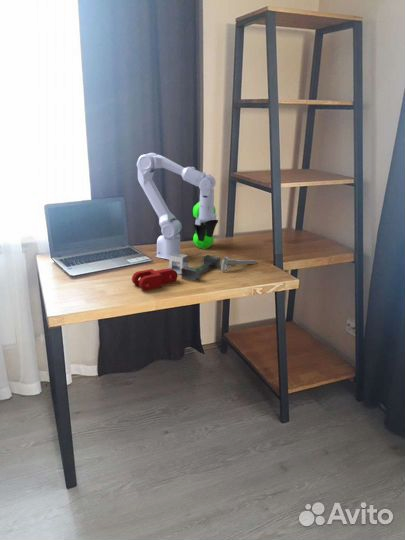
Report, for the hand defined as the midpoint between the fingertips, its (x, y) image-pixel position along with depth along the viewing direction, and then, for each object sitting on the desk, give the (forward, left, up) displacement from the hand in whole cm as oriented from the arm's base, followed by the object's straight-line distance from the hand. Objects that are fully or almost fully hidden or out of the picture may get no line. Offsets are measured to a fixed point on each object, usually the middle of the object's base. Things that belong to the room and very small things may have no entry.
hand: (205, 238), depth 186 cm
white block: (-3, -16, -9) cm, 19 cm away
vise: (+6, -14, -9) cm, 18 cm away
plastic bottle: (-10, +17, -10) cm, 22 cm away
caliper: (+16, 0, -10) cm, 19 cm away
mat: (-4, -16, -9) cm, 19 cm away
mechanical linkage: (-2, -34, -10) cm, 35 cm away
